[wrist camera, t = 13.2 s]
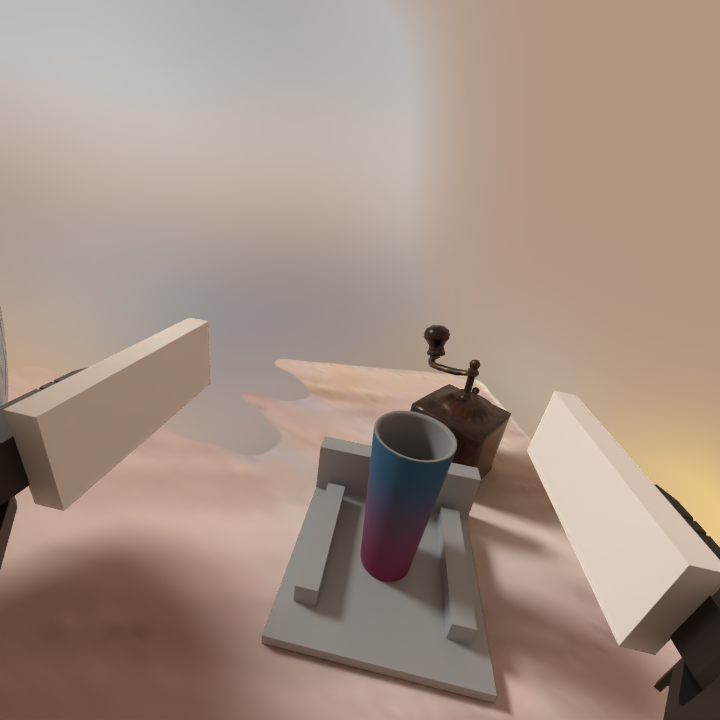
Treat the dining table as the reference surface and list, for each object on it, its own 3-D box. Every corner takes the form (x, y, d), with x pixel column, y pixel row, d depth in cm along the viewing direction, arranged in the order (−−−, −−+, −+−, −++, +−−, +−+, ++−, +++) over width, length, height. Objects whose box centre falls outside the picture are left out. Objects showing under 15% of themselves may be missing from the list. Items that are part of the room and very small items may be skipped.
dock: (261, 642, 27) (264, 571, 24) (319, 481, 43) (326, 425, 40) (493, 703, 26) (531, 635, 22) (462, 512, 42) (481, 457, 38)
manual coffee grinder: (496, 464, 52) (537, 355, 44) (461, 500, 44) (504, 376, 37) (412, 416, 61) (435, 319, 53) (371, 439, 53) (392, 330, 46)
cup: (431, 556, 35) (470, 435, 29) (395, 609, 30) (433, 476, 24) (377, 516, 38) (402, 402, 32) (337, 558, 33) (357, 431, 27)
